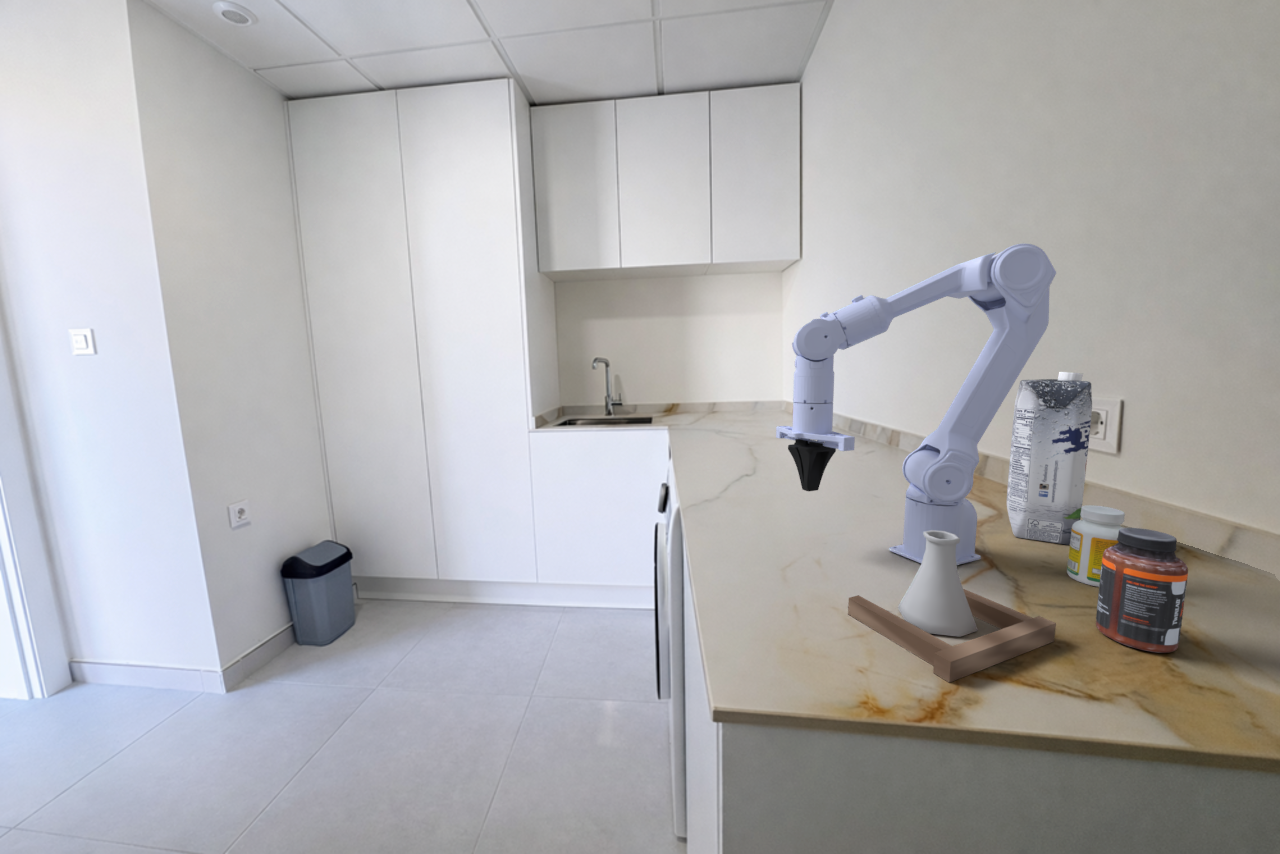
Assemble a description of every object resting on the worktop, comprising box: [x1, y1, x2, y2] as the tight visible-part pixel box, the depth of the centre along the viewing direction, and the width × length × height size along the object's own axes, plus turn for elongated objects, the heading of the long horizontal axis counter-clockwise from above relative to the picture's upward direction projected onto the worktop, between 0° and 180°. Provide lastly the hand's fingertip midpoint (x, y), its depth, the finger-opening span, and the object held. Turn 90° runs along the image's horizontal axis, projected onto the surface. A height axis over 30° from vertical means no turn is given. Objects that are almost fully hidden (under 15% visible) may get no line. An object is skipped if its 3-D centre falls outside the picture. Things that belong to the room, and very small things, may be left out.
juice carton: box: [1006, 371, 1093, 546], centre depth 77 cm, size 9×10×27 cm
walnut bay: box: [847, 588, 1057, 683], centre depth 51 cm, size 16×12×2 cm
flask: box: [897, 530, 978, 638], centre depth 52 cm, size 7×7×10 cm
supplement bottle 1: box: [1066, 504, 1126, 588], centre depth 61 cm, size 5×5×10 cm
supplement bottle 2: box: [1095, 527, 1189, 654], centre depth 48 cm, size 6×6×11 cm
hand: (810, 489), depth 73 cm, fingers closed
